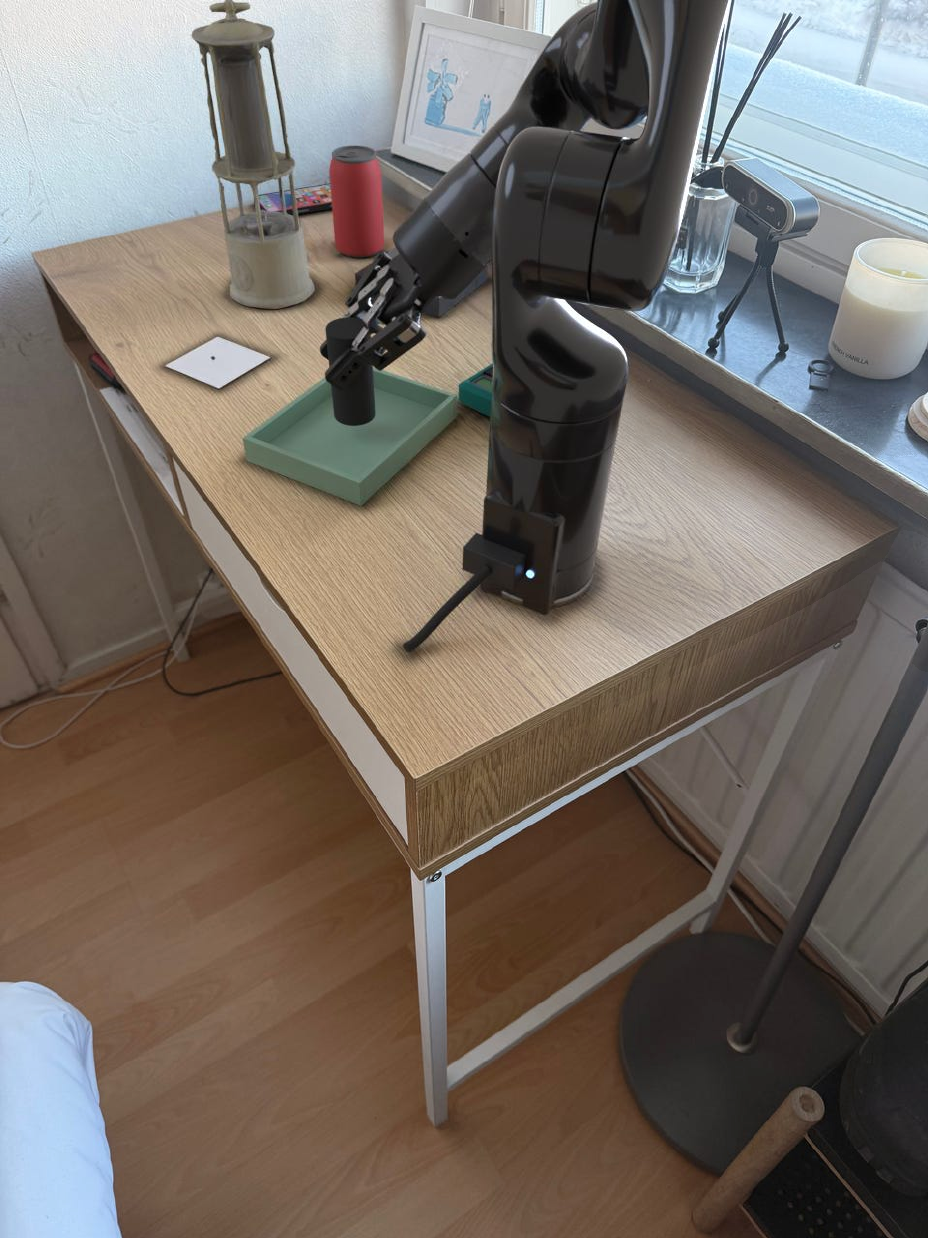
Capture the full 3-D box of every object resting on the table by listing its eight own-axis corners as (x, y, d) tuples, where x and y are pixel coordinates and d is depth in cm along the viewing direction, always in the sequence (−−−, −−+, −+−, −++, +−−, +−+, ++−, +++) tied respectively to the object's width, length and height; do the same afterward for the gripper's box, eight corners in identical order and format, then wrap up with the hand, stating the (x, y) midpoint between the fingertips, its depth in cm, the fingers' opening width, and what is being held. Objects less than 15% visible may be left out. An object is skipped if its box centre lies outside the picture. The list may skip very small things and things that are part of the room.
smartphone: (251, 195, 126) (347, 180, 131) (252, 202, 127) (348, 186, 132) (267, 213, 122) (366, 196, 127) (268, 220, 123) (366, 203, 127)
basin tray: (361, 506, 78) (359, 483, 76) (246, 460, 83) (242, 437, 81) (457, 416, 89) (457, 394, 87) (350, 380, 93) (349, 358, 91)
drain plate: (438, 317, 104) (439, 297, 102) (356, 293, 108) (354, 273, 106) (487, 280, 111) (488, 260, 109) (407, 258, 115) (407, 239, 113)
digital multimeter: (590, 373, 96) (593, 348, 93) (512, 431, 87) (514, 405, 85) (535, 351, 99) (537, 327, 97) (455, 405, 90) (455, 380, 88)
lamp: (232, 312, 103) (179, 10, 82) (226, 266, 112) (177, -18, 91) (319, 305, 105) (289, 8, 84) (307, 260, 114) (278, -20, 92)
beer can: (331, 241, 118) (322, 145, 110) (378, 236, 120) (373, 141, 111) (340, 261, 114) (333, 163, 105) (389, 256, 115) (386, 159, 107)
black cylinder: (360, 430, 82) (353, 342, 76) (325, 418, 83) (316, 331, 77) (383, 410, 85) (378, 324, 78) (349, 398, 86) (342, 312, 79)
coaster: (270, 357, 96) (269, 350, 95) (218, 388, 91) (217, 381, 91) (217, 336, 99) (216, 330, 98) (164, 365, 94) (163, 359, 93)
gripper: (414, 166, 76) (290, 309, 83) (446, 232, 66) (304, 388, 73) (471, 224, 80) (350, 355, 87) (509, 294, 71) (370, 435, 78)
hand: (330, 369), depth 80 cm, fingers closed on black cylinder, 4 cm apart
